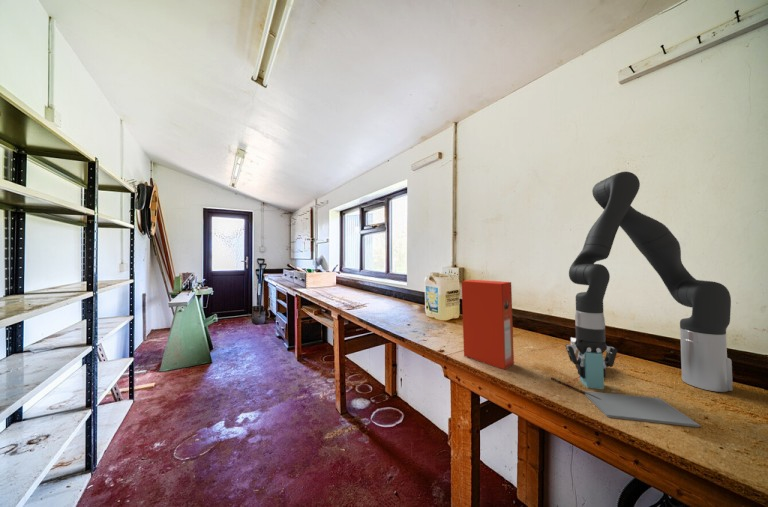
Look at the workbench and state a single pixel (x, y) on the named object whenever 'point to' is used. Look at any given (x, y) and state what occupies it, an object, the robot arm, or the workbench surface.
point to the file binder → (488, 322)
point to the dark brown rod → (571, 387)
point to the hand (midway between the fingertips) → (591, 377)
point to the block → (593, 371)
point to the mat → (639, 409)
